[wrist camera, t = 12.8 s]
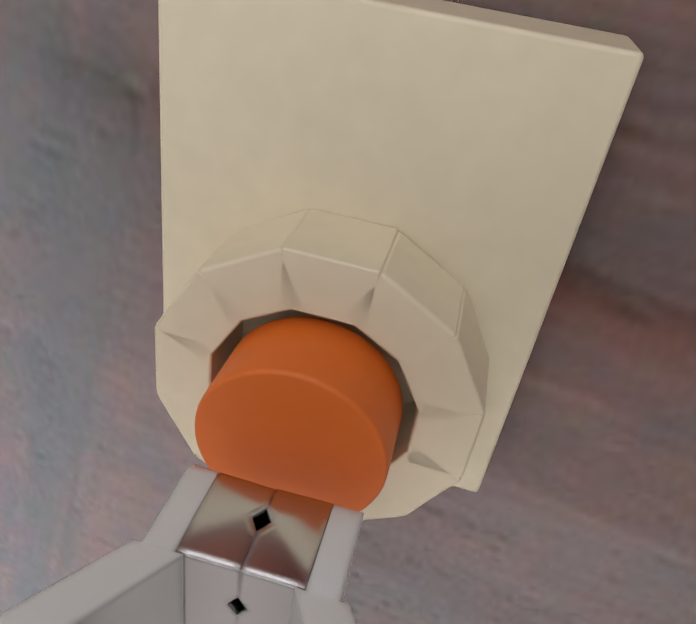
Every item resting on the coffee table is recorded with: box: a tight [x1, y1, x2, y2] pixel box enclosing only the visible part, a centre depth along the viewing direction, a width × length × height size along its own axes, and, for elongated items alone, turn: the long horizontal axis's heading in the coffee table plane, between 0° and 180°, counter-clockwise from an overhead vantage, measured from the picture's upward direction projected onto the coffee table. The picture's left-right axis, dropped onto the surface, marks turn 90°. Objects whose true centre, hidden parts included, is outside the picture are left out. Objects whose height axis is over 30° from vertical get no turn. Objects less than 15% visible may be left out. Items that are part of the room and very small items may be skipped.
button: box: [195, 317, 403, 512], centre depth 12 cm, size 4×4×2 cm
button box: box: [155, 0, 643, 520], centre depth 13 cm, size 10×8×4 cm
